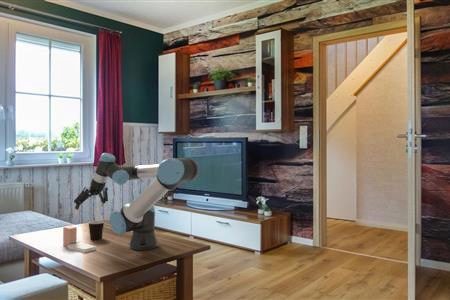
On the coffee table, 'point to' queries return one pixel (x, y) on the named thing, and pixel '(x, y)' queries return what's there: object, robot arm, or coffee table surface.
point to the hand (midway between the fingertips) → (86, 212)
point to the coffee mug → (96, 230)
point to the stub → (69, 235)
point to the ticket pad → (81, 247)
